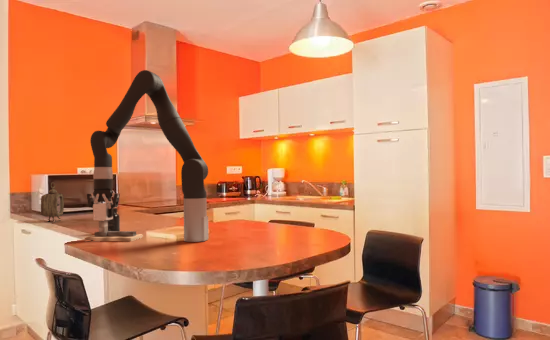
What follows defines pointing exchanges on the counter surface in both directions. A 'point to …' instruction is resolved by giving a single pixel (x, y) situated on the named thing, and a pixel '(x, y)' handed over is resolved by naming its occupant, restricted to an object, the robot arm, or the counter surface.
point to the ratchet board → (114, 238)
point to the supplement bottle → (114, 222)
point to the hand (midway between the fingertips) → (103, 217)
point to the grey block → (100, 212)
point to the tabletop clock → (52, 203)
